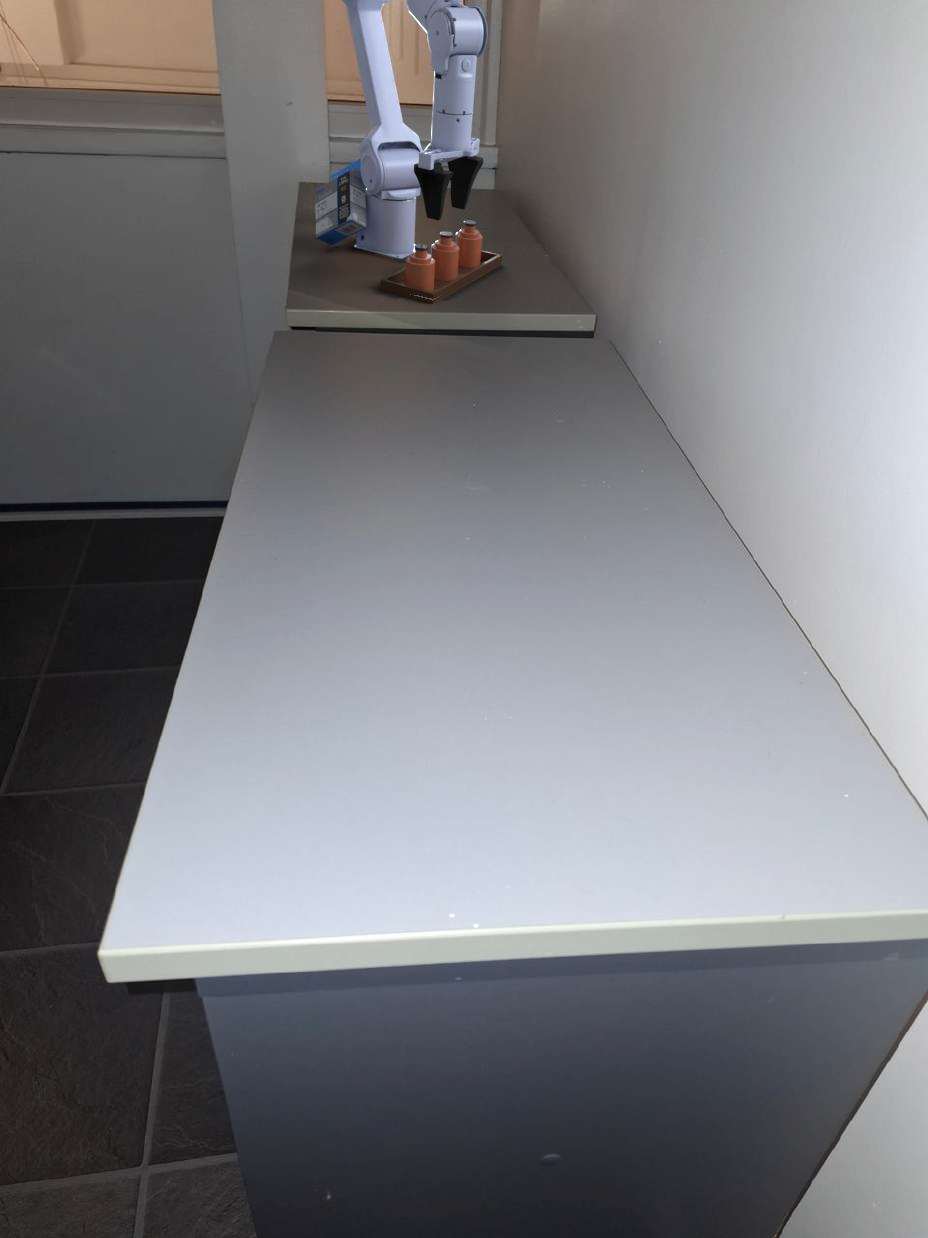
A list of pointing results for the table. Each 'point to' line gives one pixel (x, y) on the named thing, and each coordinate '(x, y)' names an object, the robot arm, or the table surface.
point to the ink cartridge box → (341, 205)
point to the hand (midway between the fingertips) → (446, 213)
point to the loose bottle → (420, 269)
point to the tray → (444, 288)
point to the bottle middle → (445, 257)
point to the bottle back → (469, 245)
